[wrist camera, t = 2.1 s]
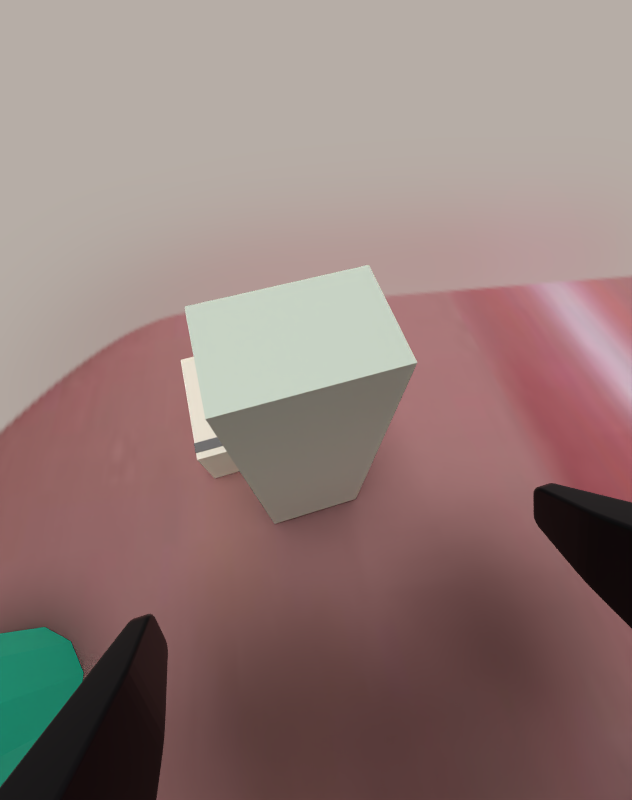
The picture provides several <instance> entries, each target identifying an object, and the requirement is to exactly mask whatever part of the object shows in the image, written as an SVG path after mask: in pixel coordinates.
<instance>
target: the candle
mask: <svg viewBox="0 0 632 800" xmlns="http://www.w3.org/2000/svg"><path fill="white" fill-rule="evenodd" d="M82 682H83V670H82V668H81V665H80V663H79V660H78V658H77V655H76V653H75V650H74V648H73V645H72V643H71V641H69V640H67V639H66V638H64V637H62V636H60V635H58V634H57V633H55V632H53V631H51V630H49V629H48V628H46V627H41V628H35V629H28V630H21V631H14V632H7V633H1V634H0V787H1V785H2V784H3V783H4V782H5V780H6V779H7V778H8V776H9V775H10V774H11V773H12V771H13V770H14V769H15V767H16V766H17V765H18V764H19V762H20V761H21V760H22V758H23V757H24V756H25V755H26V753H27V752H28V751H29V749H30V748H31V747H32V746H33V744H34V743H35V742H36V741H37V739H38V738H39V737H40V735H41V734H42V733H43V732H44V730H45V729H46V728H47V726H48V725H49V724H50V723H51V721H52V720H53V719H54V717H55V716H56V715H57V714H58V712H59V711H60V710H61V708H62V707H63V706H64V705H65V703H66V702H67V701H68V700H69V698H70V697H71V696H72V694H73V693H74V692H75V691H76V689H77V688H78V687H79V685H80V684H81V683H82Z"/></svg>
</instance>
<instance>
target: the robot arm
mask: <svg viewBox="0 0 632 800" xmlns="http://www.w3.org/2000/svg"><path fill="white" fill-rule="evenodd" d="M534 519H535V521H536V523H537V525H538V526H539V528H540V529H541V530H542V531H543V533H544V534H545V535H546V536H547V537H548V538H549V540H550V541H551V542H552V543H553V544H554V546H555V547H556V548H557V549H558V550H559V552H560V553H561V554H562V555H563V556H564V557H565V559H566V560H567V561H568V562H569V563H570V565H571V566H572V567H573V568H574V569H575V571H576V572H577V573H578V574H579V575H580V576H581V577H582V579H583V580H584V581H585V582H586V583H587V584H588V585H589V586H590V587H591V588H592V589H593V590H594V591H595V592H596V593H597V594H598V595H599V596H600V597H601V598H602V599H603V600H604V601H605V602H606V603H607V604H608V605H609V606H610V607H611V608H612V609H613V610H614V611H615V612H616V613H617V614H618V615H619V616H620V617H621V618H622V619H623V620H624V621H625V622H626V623H627V624H628V625H629V626H630V627H631V628H632V502H627V501H623V500H619V499H615V498H611V497H607V496H603V495H599V494H595V493H591V492H587V491H583V490H579V489H574V488H570V487H566V486H562V485H558V484H554V483H549V484H546V485H543V486H540V487H537V488H536V489H535V490H534ZM167 660H168V649H167V643H166V640H165V638H164V635H163V633H162V631H161V629H160V627H159V625H158V623H157V621H156V619H155V617H154V616H153V615H152V614H147V615H144V616H141V617H138V618H134V619H132V620H131V621H130V622H129V623H128V624H127V625H126V626H125V628H124V629H123V630H122V632H121V633H120V634H119V635H118V637H117V638H116V639H115V641H114V642H113V643H112V644H111V646H110V647H109V648H108V650H107V651H106V652H105V653H104V655H103V656H102V657H101V658H100V660H99V661H98V662H97V664H96V665H95V666H94V667H93V669H92V670H91V671H90V673H89V674H88V675H87V676H86V678H85V679H84V680H83V682H82V683H81V684H80V685H79V687H78V688H77V689H76V691H75V692H74V693H73V694H72V696H71V697H70V698H69V700H68V701H67V702H66V703H65V705H64V706H63V707H62V708H61V710H60V711H59V712H58V714H57V715H56V716H55V717H54V719H53V720H52V721H51V723H50V724H49V725H48V726H47V728H46V729H45V730H44V732H43V733H42V734H41V735H40V737H39V738H38V739H37V741H36V742H35V743H34V744H33V746H32V747H31V748H30V749H29V751H28V752H27V753H26V755H25V756H24V757H23V758H22V760H21V761H20V762H19V764H18V765H17V766H16V767H15V769H14V770H13V771H12V773H11V774H10V775H9V776H8V778H7V779H6V780H5V782H4V783H3V784H2V785H1V787H0V800H156V798H157V790H158V783H159V775H160V768H161V760H162V753H163V744H164V733H165V713H166V686H167Z"/></svg>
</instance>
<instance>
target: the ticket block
mask: <svg viewBox="0 0 632 800" xmlns="http://www.w3.org/2000/svg"><path fill="white" fill-rule="evenodd" d="M181 365H182V371H183V377H184V383H185V389H186V395H187V401H188V407H189V413H190V419H191V425H192V431H193V437H194V446H195V452H196V455H197V460H198V461H199V462H200V463H201V464H202V465H203V466H204V468H205V469H206V470H207V471H208V472H209V473H210V474H211V475H212V476H213V477H214V478H218V477H221V476H225V475H228V474H232V473H235V472H239V469H238V468H237V466H236V465H235V463H234V462H233V460H232V459H231V457H230V456H229V454H228V453H227V451H226V450H225V448H224V447H223V445H222V444H221V442H220V441H219V439H218V438H217V436H216V435H215V433H214V431H213V430H212V428H211V427H210V425H209V424H208V422H207V421H206V419H205V415H204V409H203V404H202V398H201V393H200V388H199V382H198V377H197V372H196V366H195V361H194V357H191V358H187V359H183V360H181Z"/></svg>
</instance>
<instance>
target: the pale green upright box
mask: <svg viewBox="0 0 632 800" xmlns="http://www.w3.org/2000/svg"><path fill="white" fill-rule="evenodd" d="M185 312H186V318H187V323H188V328H189V334H190V339H191V345H192V350H193V355H194V361H195V366H196V372H197V377H198V382H199V388H200V393H201V398H202V404H203V409H204V415H205V419H206V421H207V422H208V424H209V425H210V427H211V428H212V430H213V431H214V433H215V435H216V436H217V438H218V439H219V441H220V442H221V444H222V445H223V447H224V448H225V450H226V451H227V453H228V454H229V456H230V457H231V459H232V460H233V462H234V463H235V465H236V466H237V468H238V469H239V471H240V472H241V474H242V475H243V477H244V478H245V480H246V481H247V483H248V484H249V486H250V488H251V489H252V491H253V492H254V494H255V495H256V497H257V498H258V500H259V501H260V503H261V504H262V506H263V507H264V509H265V510H266V512H267V513H268V515H269V516H270V518H271V519H272V521H273V522H274V524H276V523H279V522H283V521H286V520H289V519H292V518H296V517H299V516H302V515H305V514H309V513H312V512H315V511H318V510H321V509H325V508H328V507H331V506H334V505H338V504H341V503H344V502H347V501H350V500H354V499H356V497H357V495H358V493H359V491H360V489H361V486H362V484H363V482H364V480H365V478H366V475H367V473H368V471H369V469H370V466H371V464H372V462H373V460H374V458H375V455H376V453H377V451H378V449H379V446H380V444H381V442H382V440H383V438H384V435H385V433H386V431H387V429H388V427H389V424H390V422H391V420H392V418H393V415H394V413H395V411H396V409H397V407H398V404H399V402H400V400H401V398H402V395H403V393H404V391H405V389H406V387H407V384H408V382H409V380H410V378H411V375H412V373H413V371H414V369H415V367H416V364H417V361H416V359H415V357H414V355H413V353H412V351H411V349H410V347H409V345H408V343H407V341H406V339H405V337H404V335H403V333H402V331H401V329H400V327H399V325H398V323H397V321H396V319H395V317H394V315H393V313H392V311H391V309H390V307H389V305H388V303H387V301H386V299H385V297H384V294H383V293H382V290H381V289H380V287H379V284H378V282H377V280H376V278H375V276H374V274H373V272H372V270H371V268H370V266H369V265H367V266H362V267H357V268H354V269H349V270H345V271H340V272H335V273H331V274H326V275H322V276H318V277H314V278H309V279H305V280H300V281H296V282H292V283H287V284H282V285H278V286H274V287H269V288H265V289H260V290H256V291H251V292H247V293H243V294H238V295H234V296H229V297H225V298H221V299H216V300H212V301H207V302H203V303H199V304H194V305H190V306H185Z"/></svg>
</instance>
